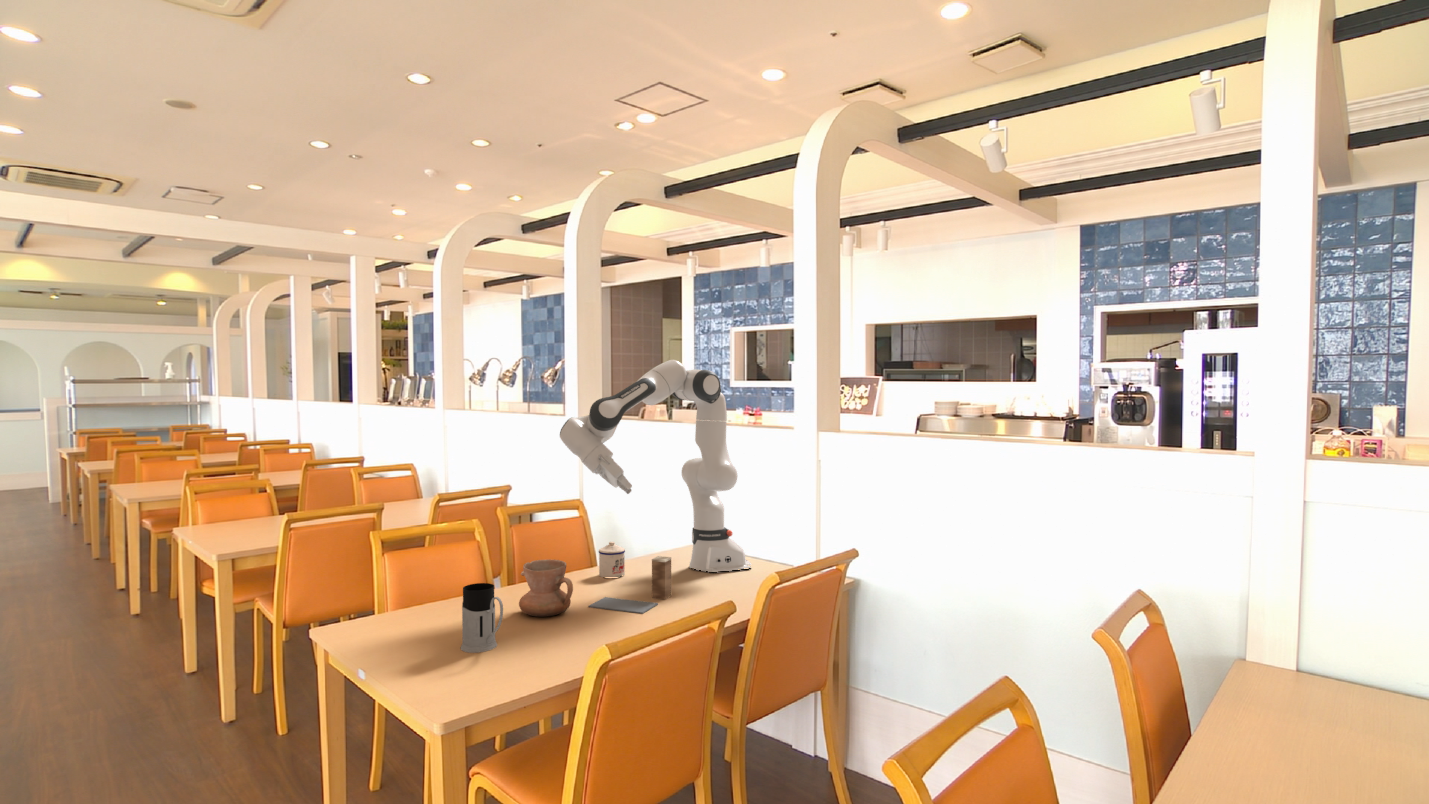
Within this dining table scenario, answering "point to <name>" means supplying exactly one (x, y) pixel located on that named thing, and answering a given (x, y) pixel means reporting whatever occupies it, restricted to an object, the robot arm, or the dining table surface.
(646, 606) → the rubber mat
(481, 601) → the glass holder
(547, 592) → the ceramic jug
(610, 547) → the teacup with lid
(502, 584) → the dining table surface
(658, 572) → the walnut block
